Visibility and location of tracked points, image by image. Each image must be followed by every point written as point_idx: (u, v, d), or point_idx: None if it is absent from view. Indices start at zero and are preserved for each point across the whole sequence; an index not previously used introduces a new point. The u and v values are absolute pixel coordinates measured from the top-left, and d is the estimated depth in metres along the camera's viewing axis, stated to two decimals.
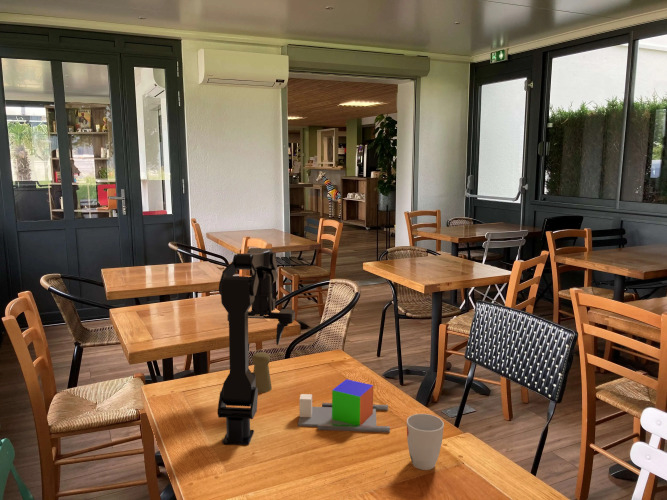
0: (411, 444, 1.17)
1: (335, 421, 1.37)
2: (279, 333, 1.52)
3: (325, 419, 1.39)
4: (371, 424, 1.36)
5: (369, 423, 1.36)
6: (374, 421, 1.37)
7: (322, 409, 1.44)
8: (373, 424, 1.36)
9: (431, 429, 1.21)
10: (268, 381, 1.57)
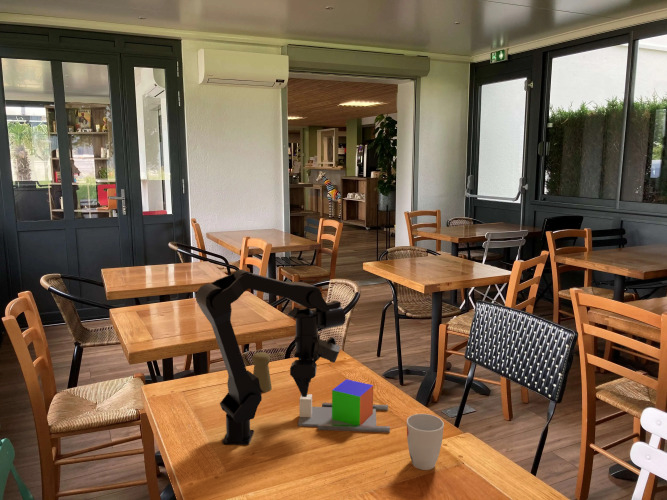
0: (411, 444, 1.17)
1: (335, 421, 1.37)
2: None
3: (325, 419, 1.39)
4: (371, 424, 1.36)
5: (369, 423, 1.36)
6: (374, 421, 1.37)
7: (322, 409, 1.44)
8: (373, 424, 1.36)
9: (431, 429, 1.21)
10: (268, 381, 1.57)
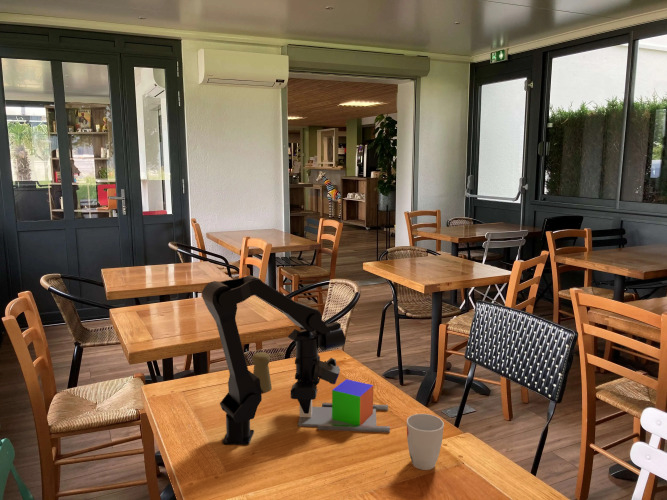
0: (411, 444, 1.17)
1: (335, 421, 1.37)
2: None
3: (325, 419, 1.39)
4: (371, 424, 1.36)
5: (369, 423, 1.36)
6: (374, 421, 1.37)
7: (322, 409, 1.44)
8: (373, 424, 1.36)
9: (431, 429, 1.21)
10: (268, 381, 1.57)
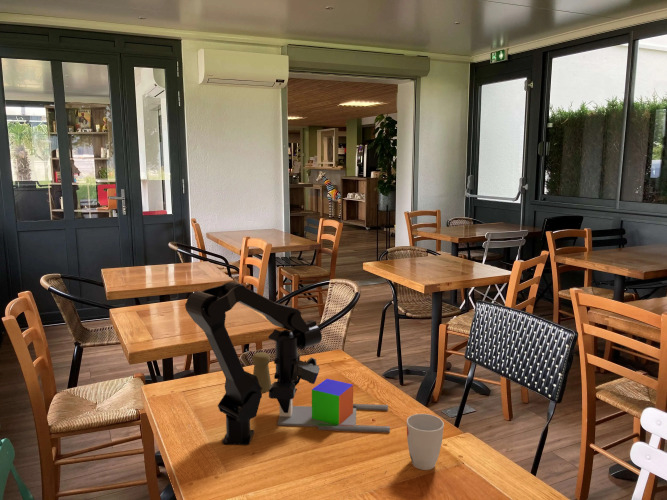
0: (411, 444, 1.17)
1: (315, 420, 1.38)
2: None
3: (304, 418, 1.39)
4: (350, 423, 1.36)
5: (348, 422, 1.37)
6: (354, 420, 1.38)
7: (303, 408, 1.44)
8: (352, 423, 1.36)
9: (431, 429, 1.21)
10: (268, 381, 1.57)
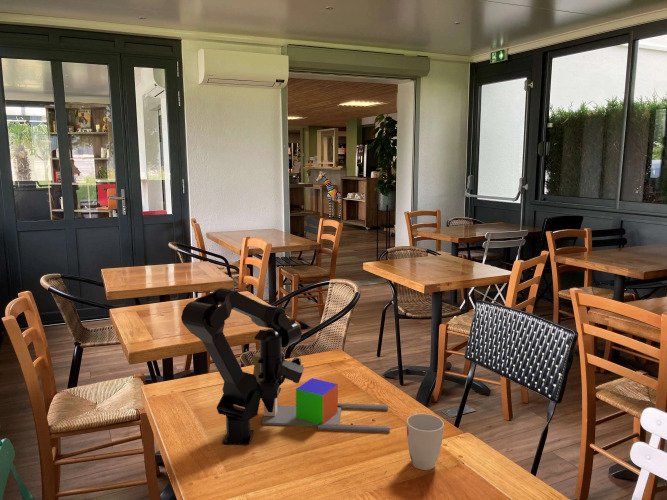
0: (411, 444, 1.17)
1: (299, 420, 1.38)
2: None
3: (289, 417, 1.39)
4: (334, 423, 1.36)
5: (332, 422, 1.37)
6: (338, 420, 1.38)
7: (288, 408, 1.44)
8: (336, 423, 1.36)
9: (431, 429, 1.21)
10: None
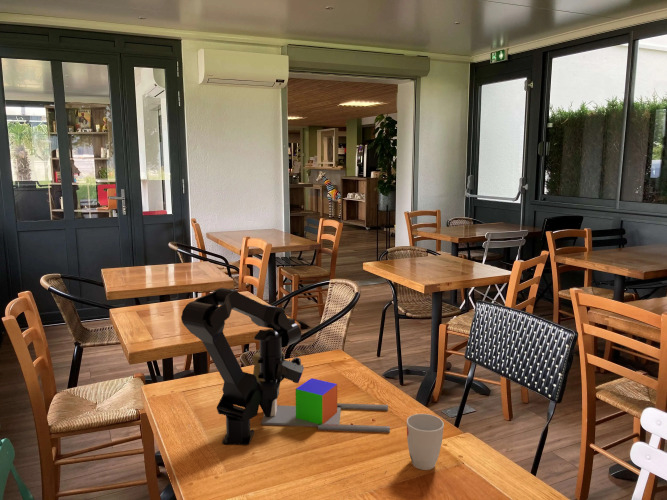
0: (411, 444, 1.17)
1: (298, 420, 1.38)
2: None
3: (288, 417, 1.39)
4: (334, 423, 1.36)
5: (332, 422, 1.37)
6: (337, 420, 1.38)
7: (287, 408, 1.44)
8: (336, 423, 1.36)
9: (431, 429, 1.21)
10: None
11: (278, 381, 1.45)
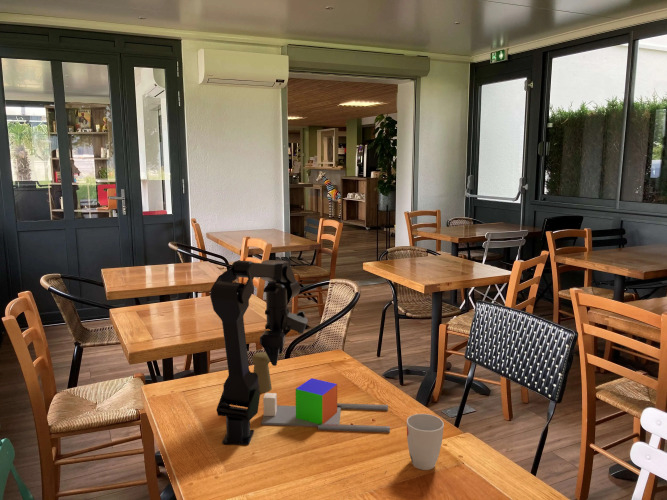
0: (411, 444, 1.17)
1: (298, 420, 1.38)
2: None
3: (288, 417, 1.39)
4: (334, 423, 1.36)
5: (332, 422, 1.37)
6: (337, 420, 1.38)
7: (287, 408, 1.44)
8: (336, 423, 1.36)
9: (431, 429, 1.21)
10: (268, 381, 1.57)
11: None
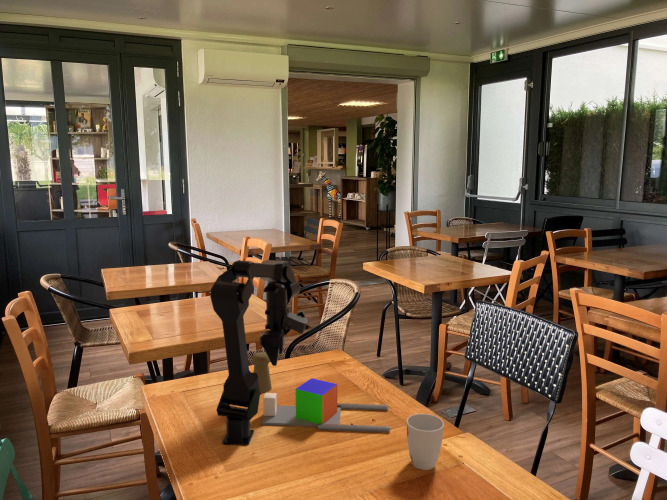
0: (411, 444, 1.17)
1: (298, 420, 1.38)
2: None
3: (288, 417, 1.39)
4: (334, 423, 1.36)
5: (332, 422, 1.37)
6: (337, 420, 1.38)
7: (287, 408, 1.44)
8: (336, 423, 1.36)
9: (431, 429, 1.21)
10: (268, 381, 1.57)
11: None
